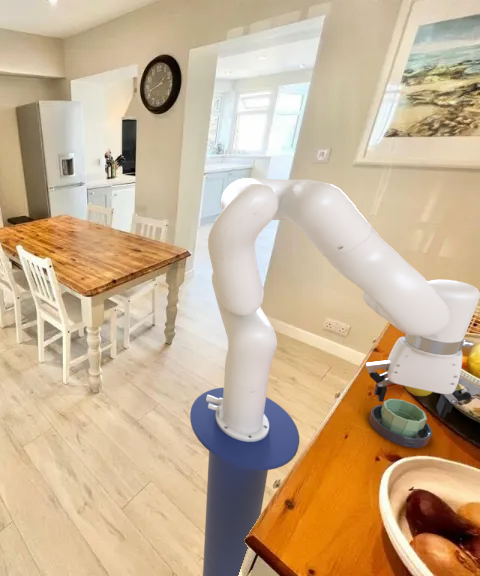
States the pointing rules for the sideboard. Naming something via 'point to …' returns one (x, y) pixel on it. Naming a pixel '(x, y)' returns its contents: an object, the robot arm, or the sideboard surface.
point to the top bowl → (402, 417)
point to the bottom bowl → (415, 442)
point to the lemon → (417, 391)
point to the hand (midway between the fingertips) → (408, 404)
